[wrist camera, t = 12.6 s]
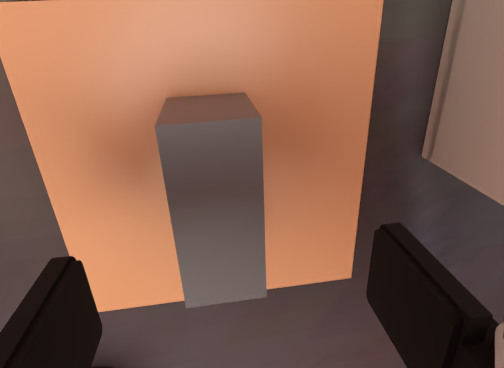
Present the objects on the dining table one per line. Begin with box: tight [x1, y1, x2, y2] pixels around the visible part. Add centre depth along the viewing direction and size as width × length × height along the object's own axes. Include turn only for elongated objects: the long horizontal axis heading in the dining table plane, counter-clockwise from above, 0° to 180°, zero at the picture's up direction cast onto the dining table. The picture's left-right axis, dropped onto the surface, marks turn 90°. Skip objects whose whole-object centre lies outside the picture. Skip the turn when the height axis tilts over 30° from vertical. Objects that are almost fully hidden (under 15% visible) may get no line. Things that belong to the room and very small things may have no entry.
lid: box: [0, 0, 384, 312], centre depth 16 cm, size 16×16×7 cm
